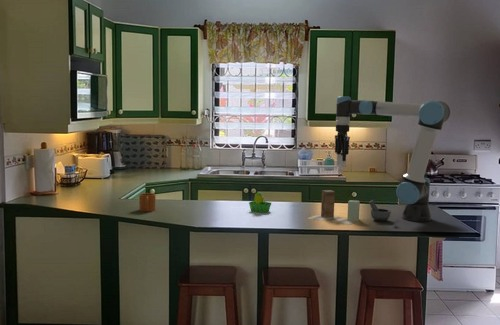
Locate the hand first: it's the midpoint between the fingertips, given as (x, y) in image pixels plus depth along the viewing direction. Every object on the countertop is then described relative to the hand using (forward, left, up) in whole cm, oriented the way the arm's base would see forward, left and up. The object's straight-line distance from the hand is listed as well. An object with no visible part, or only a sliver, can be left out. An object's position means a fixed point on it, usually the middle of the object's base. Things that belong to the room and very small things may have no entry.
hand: (341, 166), depth 298 cm
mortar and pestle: (-27, +12, -27) cm, 40 cm away
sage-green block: (-16, +20, -25) cm, 36 cm away
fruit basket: (+38, +24, -27) cm, 52 cm away
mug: (+89, +61, -27) cm, 111 cm away
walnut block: (-2, +21, -25) cm, 33 cm away
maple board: (-7, +24, -27) cm, 37 cm away
